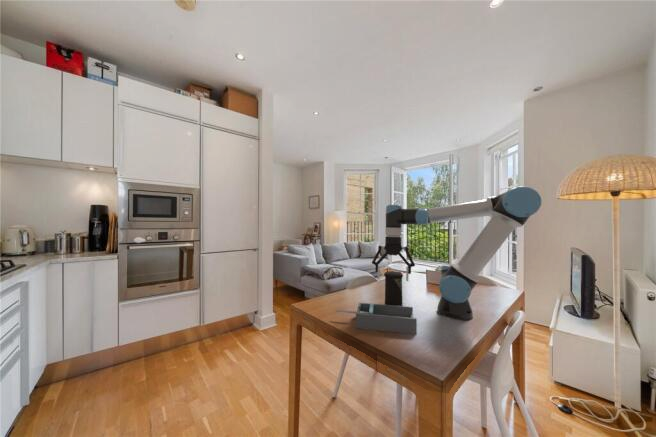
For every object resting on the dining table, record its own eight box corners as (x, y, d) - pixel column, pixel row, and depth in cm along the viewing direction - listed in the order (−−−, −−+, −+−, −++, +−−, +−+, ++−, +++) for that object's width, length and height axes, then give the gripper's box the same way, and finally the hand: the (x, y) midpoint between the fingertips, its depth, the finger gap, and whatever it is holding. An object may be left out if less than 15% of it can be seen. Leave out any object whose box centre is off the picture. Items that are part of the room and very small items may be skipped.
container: (403, 317, 111) (403, 274, 111) (384, 315, 113) (384, 273, 113) (401, 310, 119) (402, 270, 120) (383, 308, 121) (383, 269, 122)
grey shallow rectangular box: (412, 320, 108) (412, 306, 108) (416, 334, 94) (416, 319, 94) (359, 315, 113) (359, 302, 113) (355, 328, 99) (355, 313, 99)
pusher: (373, 314, 110) (373, 303, 110) (372, 324, 99) (372, 312, 99) (338, 311, 114) (338, 301, 114) (333, 321, 103) (334, 309, 103)
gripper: (419, 236, 117) (418, 279, 117) (368, 235, 123) (367, 276, 123) (421, 237, 110) (420, 283, 110) (367, 235, 116) (366, 279, 116)
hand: (392, 279), depth 116 cm, fingers open, 13 cm apart
